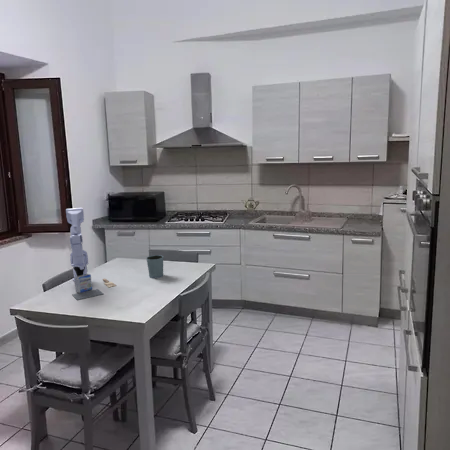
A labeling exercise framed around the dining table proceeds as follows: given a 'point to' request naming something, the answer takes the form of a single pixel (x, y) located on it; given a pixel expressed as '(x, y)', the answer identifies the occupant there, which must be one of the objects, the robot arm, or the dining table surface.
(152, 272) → the teal utensil pot
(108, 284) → the beech turner
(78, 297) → the slate mat
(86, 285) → the medicine box
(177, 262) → the dining table surface
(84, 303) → the dining table surface
